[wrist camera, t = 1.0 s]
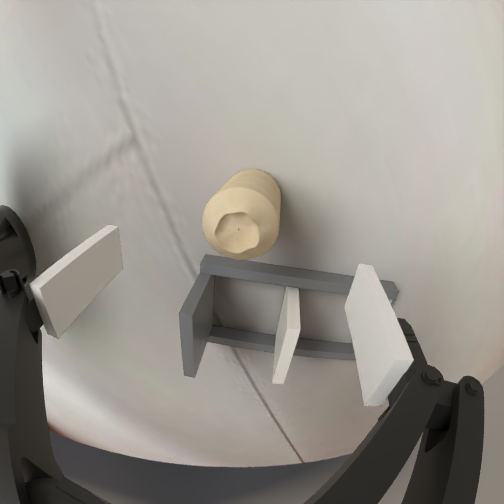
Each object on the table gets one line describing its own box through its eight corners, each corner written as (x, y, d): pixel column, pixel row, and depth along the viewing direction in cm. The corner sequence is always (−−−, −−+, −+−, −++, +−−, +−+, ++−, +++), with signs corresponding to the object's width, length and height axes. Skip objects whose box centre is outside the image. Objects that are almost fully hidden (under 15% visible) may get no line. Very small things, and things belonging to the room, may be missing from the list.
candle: (242, 157, 26) (218, 176, 17) (291, 186, 26) (295, 220, 17) (216, 204, 28) (183, 245, 19) (262, 231, 29) (252, 283, 20)
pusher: (275, 334, 34) (272, 383, 27) (287, 280, 31) (287, 328, 23) (285, 335, 34) (283, 384, 27) (298, 282, 31) (300, 330, 23)
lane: (203, 330, 36) (184, 381, 28) (205, 254, 31) (178, 301, 23) (362, 350, 35) (374, 402, 26) (393, 282, 29) (420, 332, 21)
